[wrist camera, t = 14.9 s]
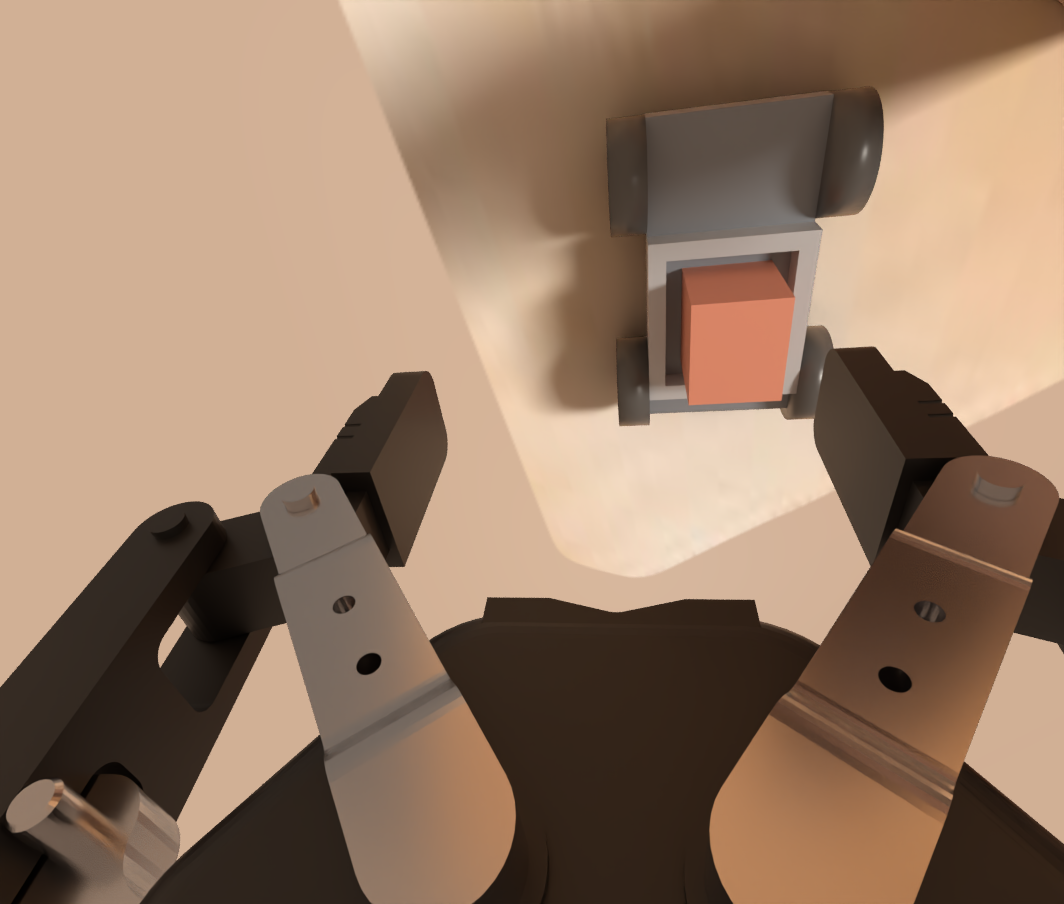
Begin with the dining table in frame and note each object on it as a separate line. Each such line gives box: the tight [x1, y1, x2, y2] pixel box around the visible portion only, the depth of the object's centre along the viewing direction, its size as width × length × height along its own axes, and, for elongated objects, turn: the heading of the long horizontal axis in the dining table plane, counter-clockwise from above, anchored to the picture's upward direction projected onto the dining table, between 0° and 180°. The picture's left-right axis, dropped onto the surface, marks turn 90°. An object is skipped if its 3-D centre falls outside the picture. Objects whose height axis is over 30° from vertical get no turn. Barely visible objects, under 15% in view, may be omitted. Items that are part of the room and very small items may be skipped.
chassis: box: [606, 86, 884, 426], centre depth 36 cm, size 13×19×6 cm
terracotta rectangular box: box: [680, 260, 795, 405], centre depth 34 cm, size 5×6×6 cm
